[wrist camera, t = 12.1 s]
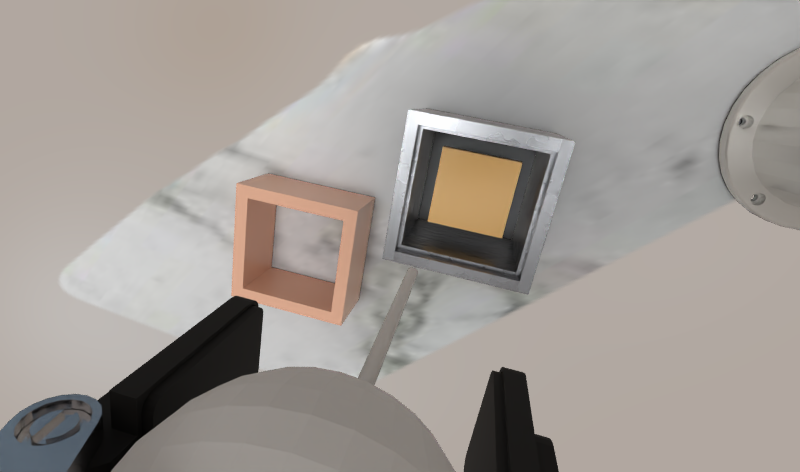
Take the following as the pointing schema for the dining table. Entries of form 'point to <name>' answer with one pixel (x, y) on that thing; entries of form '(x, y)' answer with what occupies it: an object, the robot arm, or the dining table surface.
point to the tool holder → (257, 247)
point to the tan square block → (474, 191)
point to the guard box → (461, 248)
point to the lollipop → (296, 422)
